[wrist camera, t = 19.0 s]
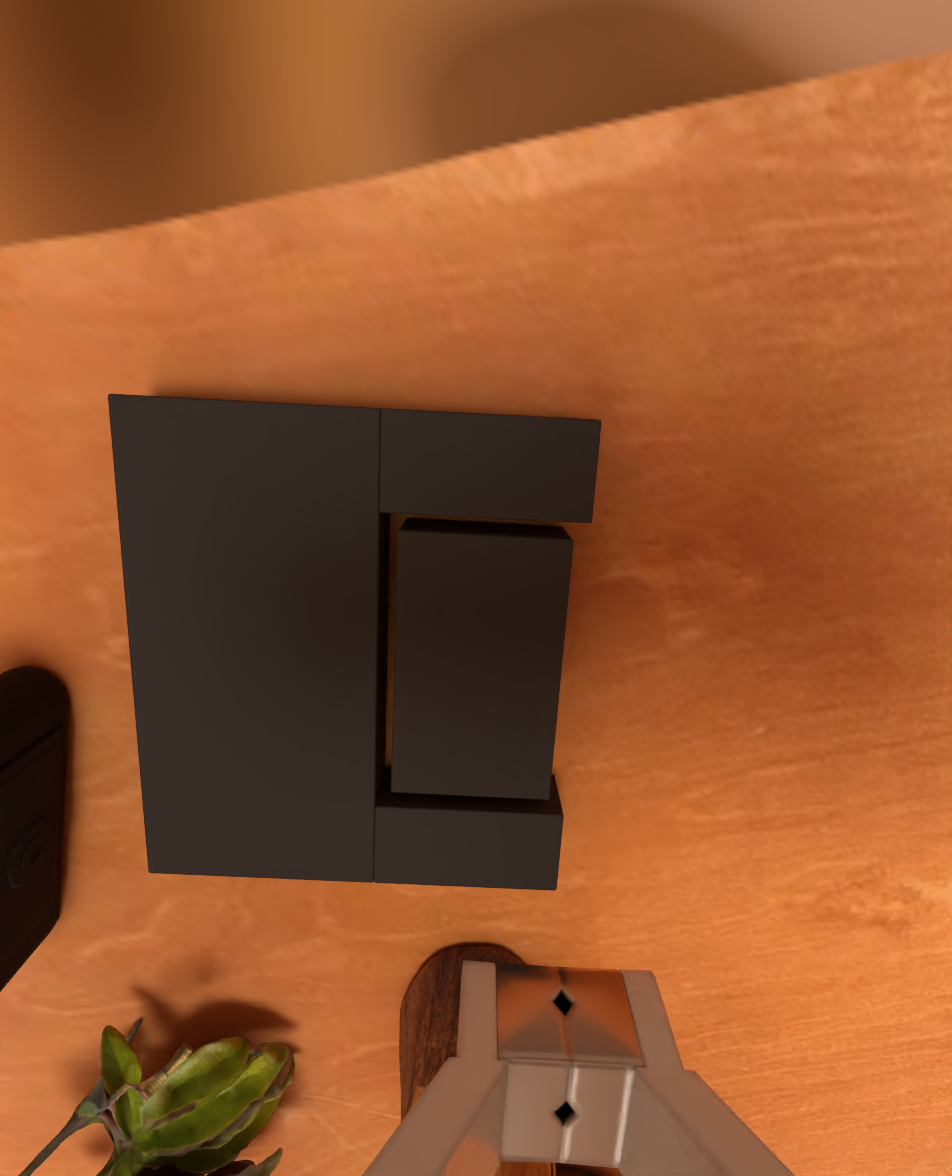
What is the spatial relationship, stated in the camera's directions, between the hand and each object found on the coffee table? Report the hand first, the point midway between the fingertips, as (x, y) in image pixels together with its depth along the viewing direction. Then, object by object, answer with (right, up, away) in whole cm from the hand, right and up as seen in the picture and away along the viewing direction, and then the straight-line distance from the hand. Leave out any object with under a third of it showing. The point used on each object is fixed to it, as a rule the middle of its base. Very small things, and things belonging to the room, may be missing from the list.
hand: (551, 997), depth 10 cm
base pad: (-6, +4, +16) cm, 17 cm away
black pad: (-1, +4, +16) cm, 17 cm away
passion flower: (-16, -17, +22) cm, 32 cm away
